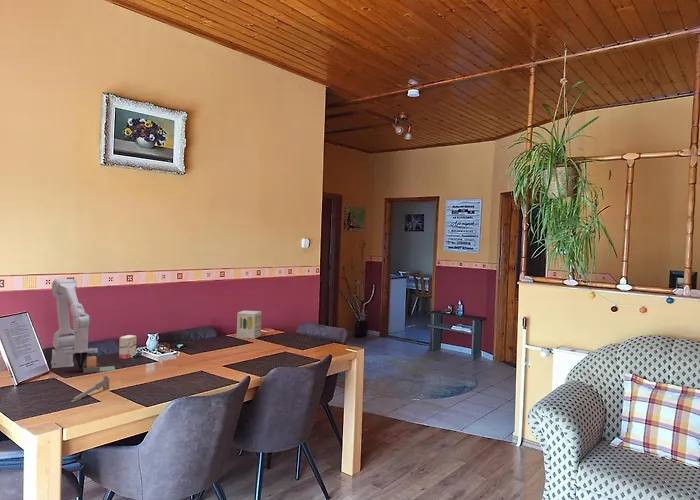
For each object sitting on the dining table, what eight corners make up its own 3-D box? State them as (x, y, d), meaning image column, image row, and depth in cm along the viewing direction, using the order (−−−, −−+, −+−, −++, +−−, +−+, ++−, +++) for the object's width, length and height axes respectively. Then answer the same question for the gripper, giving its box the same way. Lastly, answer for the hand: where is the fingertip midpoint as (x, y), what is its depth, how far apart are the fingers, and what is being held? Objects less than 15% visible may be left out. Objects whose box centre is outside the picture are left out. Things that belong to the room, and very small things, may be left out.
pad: (99, 372, 239) (99, 371, 239) (98, 368, 247) (98, 367, 247) (115, 370, 243) (115, 370, 243) (114, 366, 250) (114, 365, 250)
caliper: (107, 388, 215) (107, 374, 215) (109, 388, 215) (109, 374, 215) (70, 402, 195) (71, 387, 195) (72, 403, 195) (73, 387, 195)
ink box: (126, 359, 266) (126, 338, 266) (118, 359, 267) (118, 337, 267) (136, 356, 274) (136, 335, 274) (128, 355, 275) (129, 334, 275)
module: (86, 371, 238) (87, 359, 238) (86, 368, 243) (86, 356, 243) (96, 371, 240) (96, 358, 240) (95, 368, 245) (95, 356, 245)
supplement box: (236, 337, 337) (236, 312, 337) (243, 334, 350) (244, 310, 350) (254, 339, 335) (255, 313, 334) (261, 335, 348) (261, 311, 347)
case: (83, 373, 236) (83, 368, 236) (82, 366, 248) (82, 361, 248) (99, 372, 239) (99, 367, 239) (98, 365, 252) (98, 360, 252)
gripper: (64, 343, 232) (63, 371, 232) (98, 341, 239) (97, 368, 239) (64, 340, 238) (63, 368, 238) (97, 338, 245) (96, 365, 245)
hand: (80, 368), depth 239 cm, fingers closed
